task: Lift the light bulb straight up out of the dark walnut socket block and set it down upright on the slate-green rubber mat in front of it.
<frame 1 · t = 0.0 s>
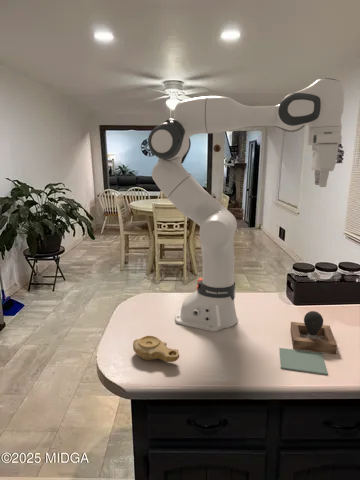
hand: (320, 185, 100), 48 cm above the countertop, tool pointing down, fingers open, 8 cm apart
rubber mat: (302, 361, 93), on the countertop
oil lamp: (156, 358, 95), on the countertop
socket block: (311, 341, 103), on the countertop
light bulb: (311, 341, 103), resting in socket block
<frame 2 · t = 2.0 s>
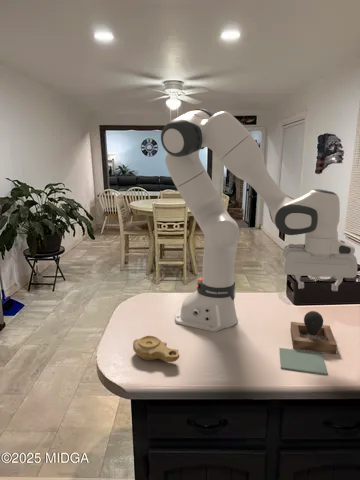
hand: (317, 289, 99), 17 cm above the countertop, tool pointing down, fingers open, 8 cm apart
nothing on the countertop moved.
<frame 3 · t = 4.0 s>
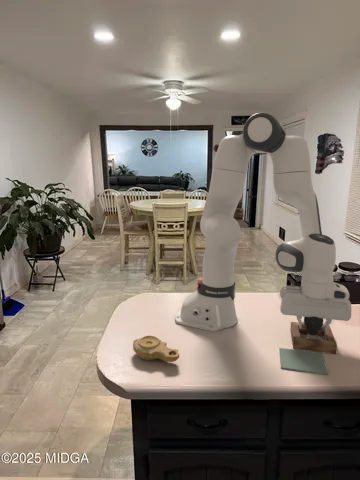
hand: (312, 329, 102), 4 cm above the countertop, tool pointing down, fingers closed on light bulb, 5 cm apart
light bulb: (311, 341, 103), resting in socket block, touching gripper
everything else where it was.
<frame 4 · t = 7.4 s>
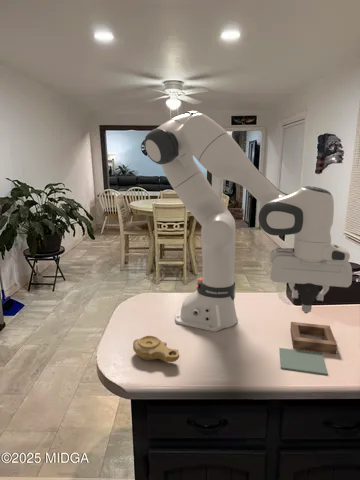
hand: (307, 298, 89), 19 cm above the countertop, tool pointing down, fingers closed on light bulb, 5 cm apart
light bulb: (306, 313, 90), point 15 cm above the countertop, touching gripper
everything else where it was.
when the fingers open (6 cm above the countertop, at t = 10.7 s): light bulb drops 1 cm, resting on rubber mat.
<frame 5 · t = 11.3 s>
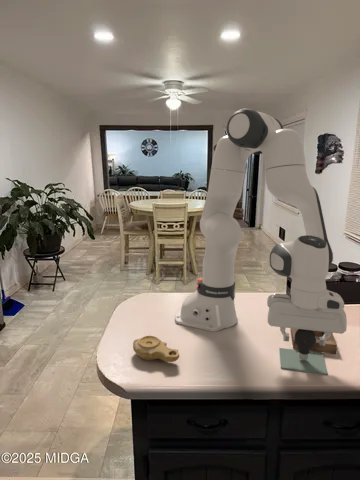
hand: (303, 342, 91), 6 cm above the countertop, tool pointing down, fingers open, 8 cm apart
light bulb: (302, 360, 93), resting on rubber mat
everything else where it was.
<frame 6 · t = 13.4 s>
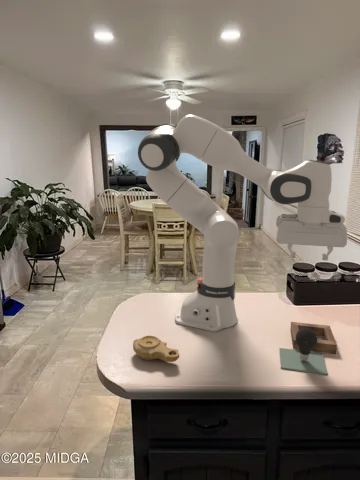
hand: (308, 258, 102), 26 cm above the countertop, tool pointing down, fingers open, 8 cm apart
nothing on the countertop moved.
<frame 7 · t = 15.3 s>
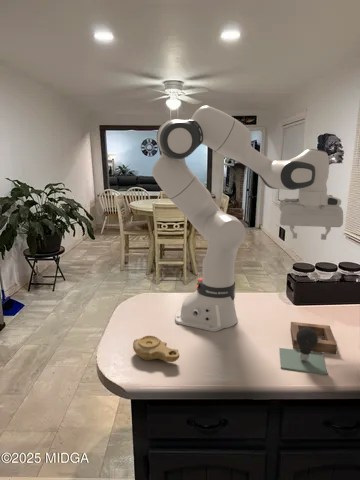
hand: (308, 238, 114), 29 cm above the countertop, tool pointing down, fingers open, 8 cm apart
nothing on the countertop moved.
at the end: light bulb inside the target area on the rubber mat (0.3 cm from its centre), point 0.3 cm above the rubber mat's base; light bulb tilted 4°; the gripper is holding nothing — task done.
